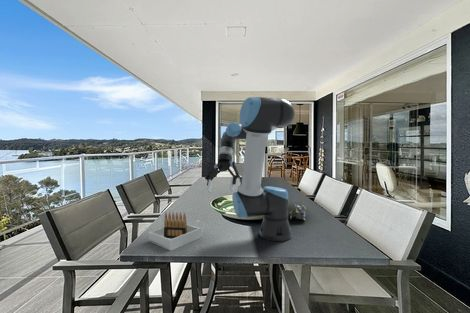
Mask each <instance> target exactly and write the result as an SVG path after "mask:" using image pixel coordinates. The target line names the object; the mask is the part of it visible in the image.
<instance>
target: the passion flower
mask: <svg viewBox="0 0 470 313" xmlns="http://www.w3.org/2000/svg"><path fill="white" fill-rule="evenodd" d="M292 205H293V207H294V208H293V209H292V210H290V211H289V210H288V216H289V215H290V217H289V220H291V219H292V218H293V217H297V215H298V214H300V217H301V219H302V221H306V216H307V214H306V211H308V209H307V207H306V206H305V205H304V204H302V207H301V206H300V205H299V204H295V202H293V204H292ZM304 210H305V211H304Z"/></svg>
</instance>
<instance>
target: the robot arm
mask: <svg viewBox="0 0 470 313" xmlns="http://www.w3.org/2000/svg"><path fill="white" fill-rule="evenodd" d="M295 115H296V113H295V108H294V106H293V105H292V103H291V102H289V101H288V100H286V99H284V98H279V97H260V96H251V97H247V98H246V99H245V100H244V101H243V102H242V104H241V106H240V110H239V123H237V122H236V121H234V122H230V123H229V124H228V125H227V126H226V129H225V131H224V132H222V136H221V143H220V147H219V153H218V159H217V164H215V163H212V165H211V167H210V169H209V170H208V172H207V173H206V175H205V177H204V180H206V181H207V182H206V186H207V188H206V192H207V193H211V192H212V186H213V179H215V178H216V177H217V175H219V173H222V172H228V173H229V174H230V176H232V177H231V178H230V186H229V190H230V191H231V192H233V193H232V198H231V199H232V200H231V201H232V207H233V210H234V213H235V215H236V216H237V217H238V218H239V219H243V218H246V219H247V218H255V217H261V216H262V217H263V220H262V222H261V225H260V228H259V236H260V238H262V239H264V240H266V241H271V242H285V241H288V240H290V239H292V237H293V236H292V229H291V226H290V223H289V215H288V213H289V212H288V211H289V200H290V199H289V192H288V190H287V189H285V188H283V187H278V186H263V188H262V186H261V185H262V179H263V177H262V176H263V172H264V170H263V169H264V162H265V153H266V146H267V140H268V136H269V135H270V134H271V133H272V131H274V130H276V129H277V130H278V129H283V128H286V127H289V125H291V124H292V123H293V121H294V119H295ZM237 140H240V141H241V140H245V145H244V146H245V148H244V156H243V166H242V176H241V175H240V173H239V171H238V168H237V163H236V162H235V161H232V160H233V159H232V158H233V153H234V146H235V143H236V141H237ZM231 167H232V169H233V171H232V170H231ZM240 178H241V184H240V185H239V186H237V191H234V190H235V185H236V183H237V179H240Z"/></svg>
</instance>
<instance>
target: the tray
mask: <svg viewBox="0 0 470 313" xmlns="http://www.w3.org/2000/svg"><path fill="white" fill-rule="evenodd" d="M186 227H187V233H186V234H183V235H181V236H178V237H175V238H166V237H164V226H163V227H160V228H156V229H154V230H151V231H148V242H149V243H150V244H154V245H156V246H158V247H161V248H163V249H165V250H167V251H170V252H171V251H174V250H176V249H178V248H181V247H183V246H185V245H187V244H190V243H193V242H194V241H197V240H200V239H202V228H201V227H198V226H194V225H191V224H187V223H186Z"/></svg>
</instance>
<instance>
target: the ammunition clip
mask: <svg viewBox="0 0 470 313" xmlns="http://www.w3.org/2000/svg"><path fill="white" fill-rule="evenodd" d="M171 214H172V215H171ZM163 223H164V224H163V225H164V226H163V227H164V237H166V238H175V237H178V236H181V235H183V234H186V233H187V227H186V224H187V216H186V212H183V215H182V212H180V213H179V214H178V211H176V212H172V213H171V211H169V212H168V213H167V211H165V213H164V220H163Z"/></svg>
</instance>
